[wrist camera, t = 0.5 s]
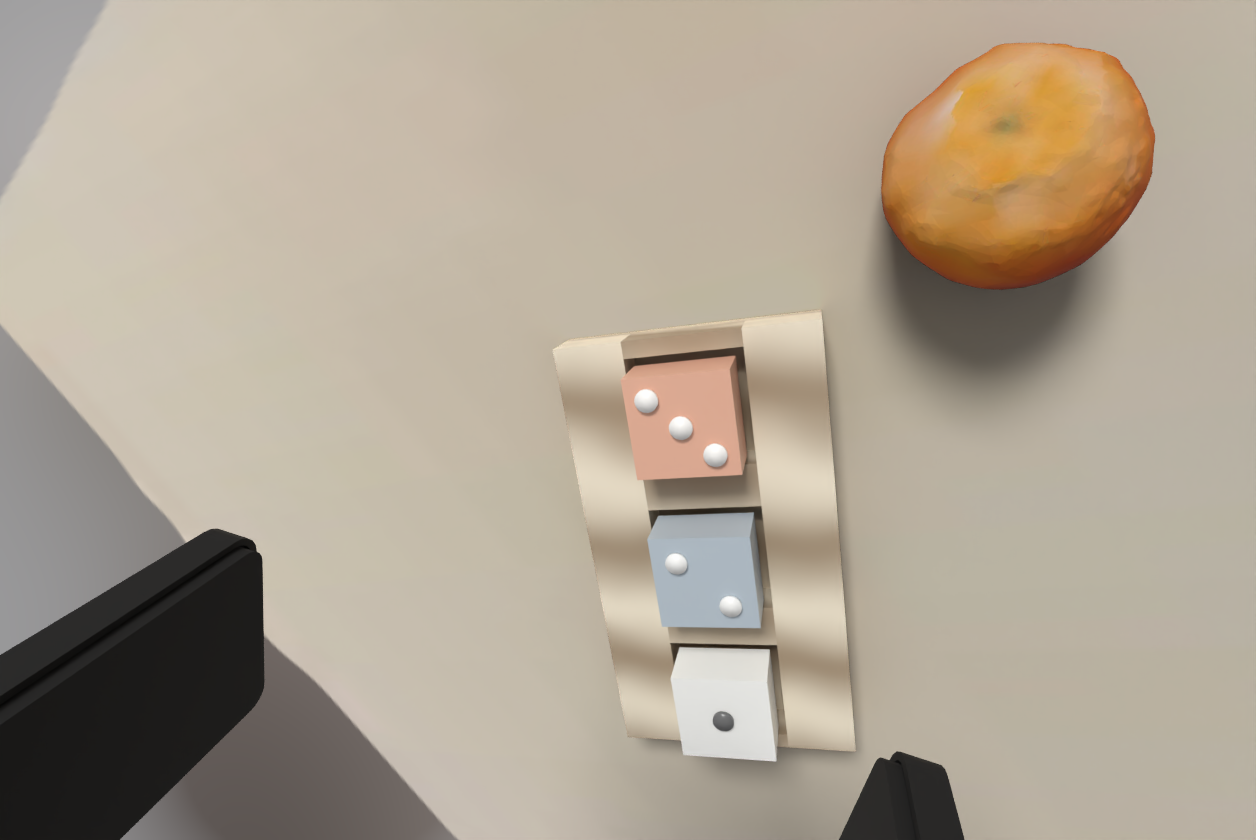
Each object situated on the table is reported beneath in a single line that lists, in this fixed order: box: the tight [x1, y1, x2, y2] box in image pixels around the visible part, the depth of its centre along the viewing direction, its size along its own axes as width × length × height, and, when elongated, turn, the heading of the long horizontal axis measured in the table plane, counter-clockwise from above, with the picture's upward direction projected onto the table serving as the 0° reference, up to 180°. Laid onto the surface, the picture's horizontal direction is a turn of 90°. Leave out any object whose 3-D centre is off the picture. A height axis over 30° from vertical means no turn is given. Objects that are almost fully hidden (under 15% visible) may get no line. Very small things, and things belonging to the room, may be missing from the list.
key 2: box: [647, 512, 764, 628], centre depth 31 cm, size 5×5×3 cm
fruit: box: [881, 43, 1155, 290], centre depth 24 cm, size 8×8×8 cm
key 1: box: [671, 647, 779, 761], centre depth 33 cm, size 5×5×3 cm
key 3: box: [621, 356, 747, 480], centre depth 29 cm, size 5×5×3 cm
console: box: [553, 310, 856, 752], centre depth 33 cm, size 22×12×2 cm, turn 9°
